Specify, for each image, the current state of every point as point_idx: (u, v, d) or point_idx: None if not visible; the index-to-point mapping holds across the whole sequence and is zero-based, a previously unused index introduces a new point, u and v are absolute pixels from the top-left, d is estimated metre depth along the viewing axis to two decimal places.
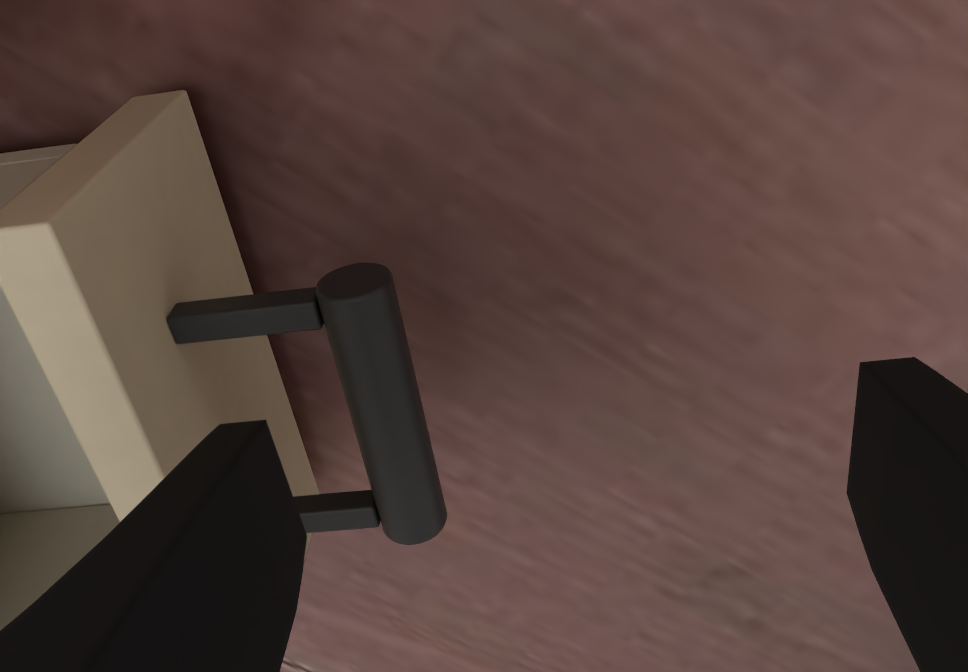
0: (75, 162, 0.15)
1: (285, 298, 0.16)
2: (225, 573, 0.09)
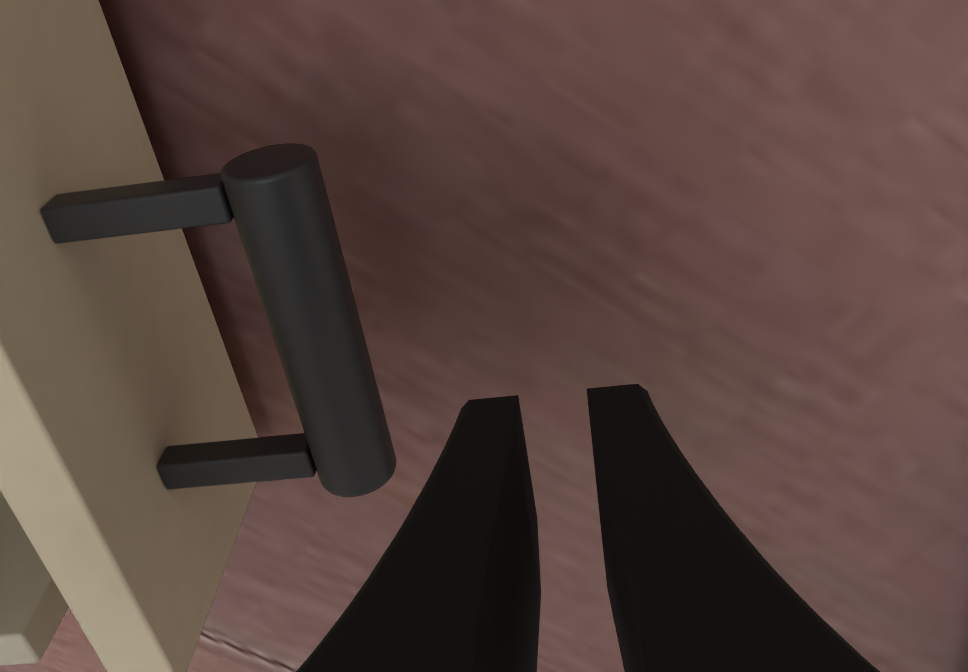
0: None
1: (185, 184, 0.13)
2: (515, 551, 0.09)
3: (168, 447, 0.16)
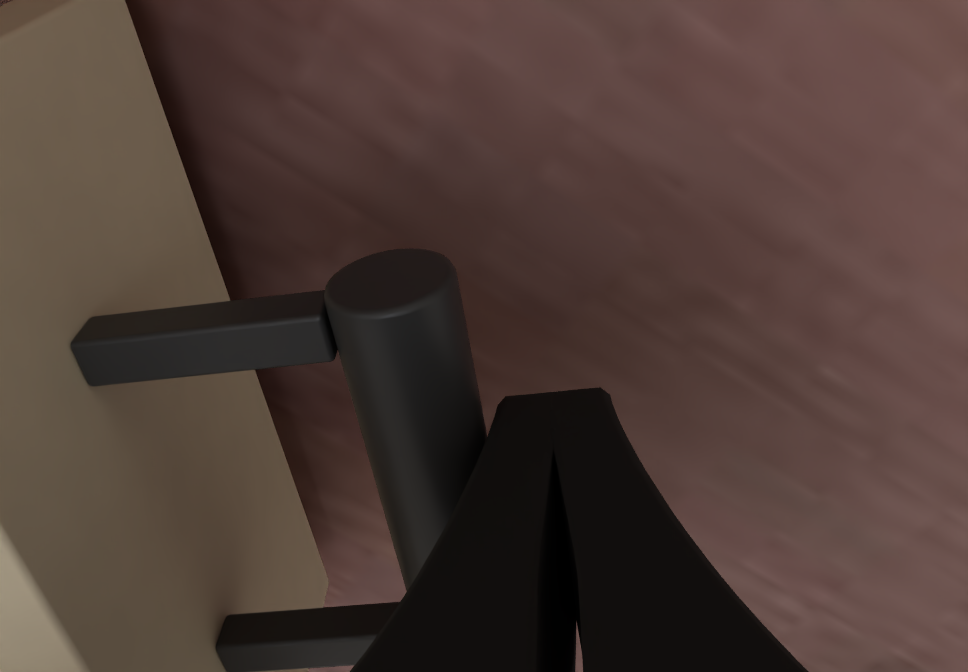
0: None
1: (272, 309, 0.09)
2: (557, 548, 0.09)
3: (229, 617, 0.12)
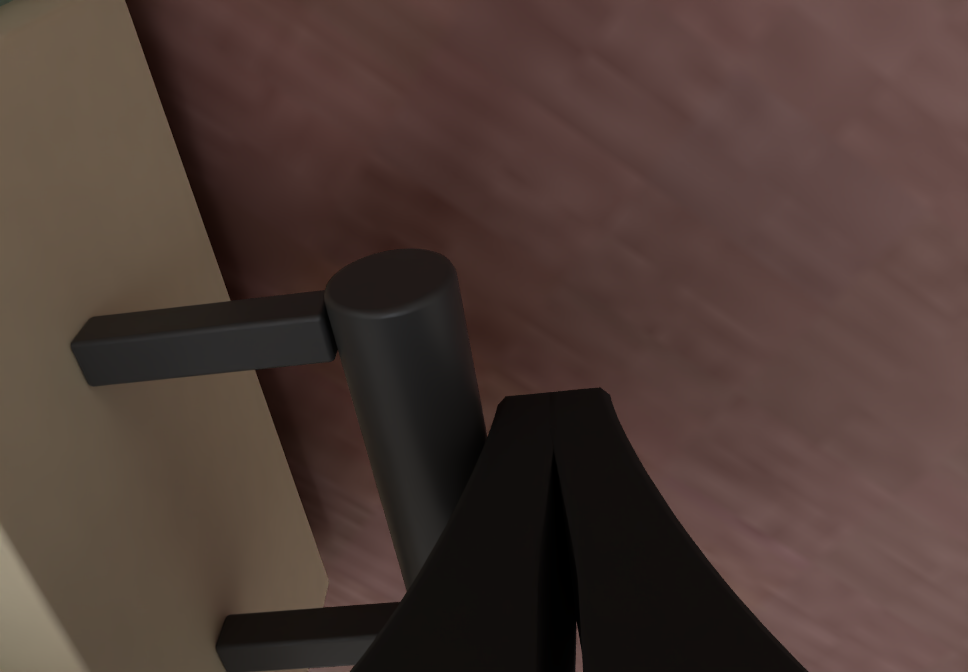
0: None
1: (272, 309, 0.09)
2: (557, 548, 0.09)
3: (229, 617, 0.12)
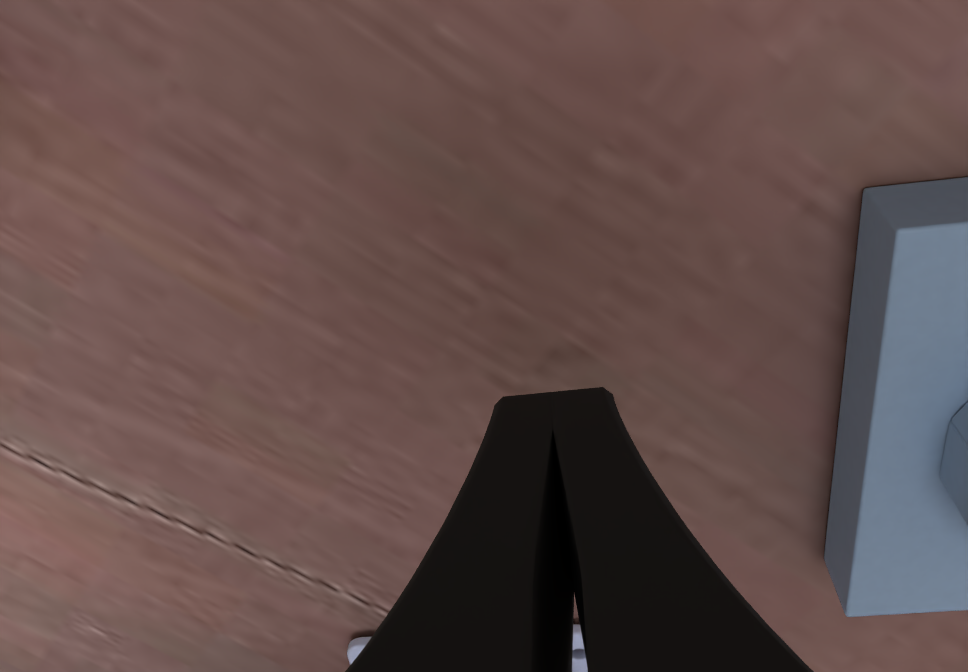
0: None
1: None
2: (554, 548, 0.09)
3: None
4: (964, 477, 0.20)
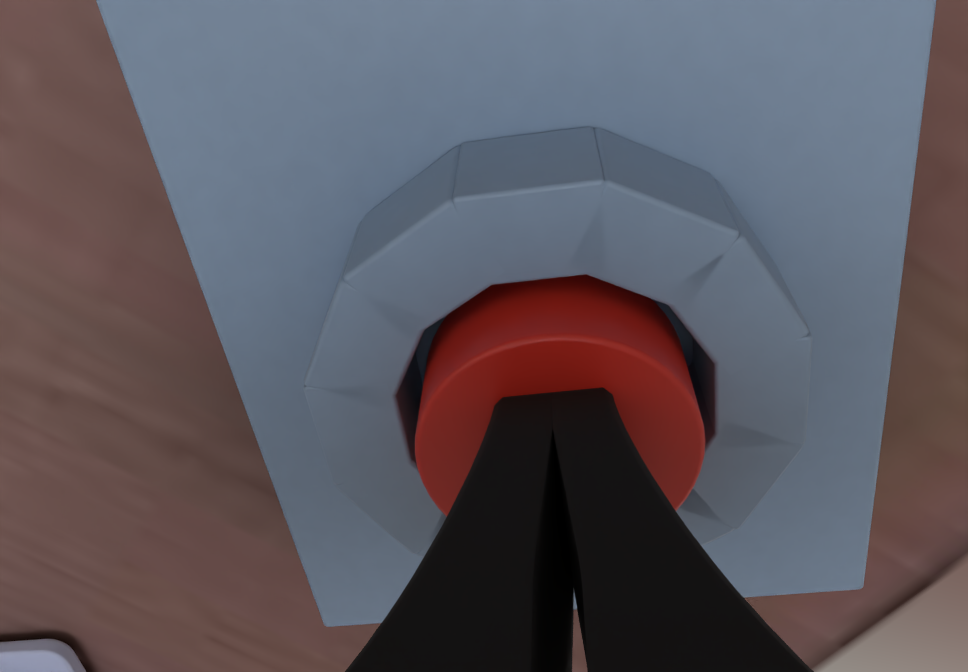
0: None
1: None
2: (553, 548, 0.09)
3: None
4: None
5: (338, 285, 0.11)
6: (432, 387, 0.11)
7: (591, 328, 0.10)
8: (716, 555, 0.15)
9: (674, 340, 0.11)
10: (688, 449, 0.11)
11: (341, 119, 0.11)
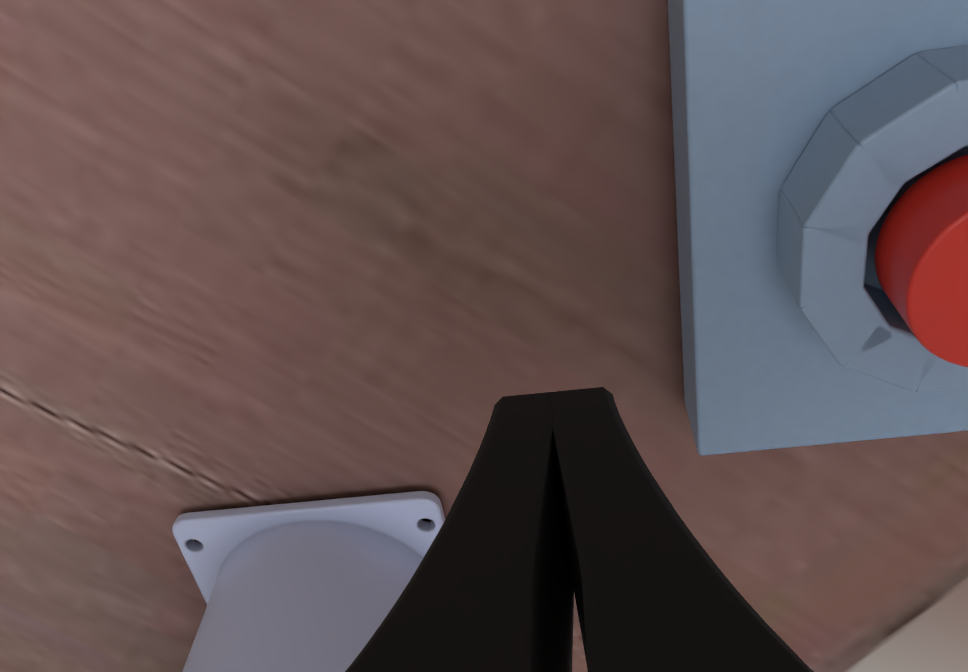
0: None
1: None
2: (554, 549, 0.09)
3: None
4: (792, 248, 0.17)
5: (853, 148, 0.15)
6: (933, 231, 0.15)
7: None
8: None
9: None
10: None
11: (833, 36, 0.16)
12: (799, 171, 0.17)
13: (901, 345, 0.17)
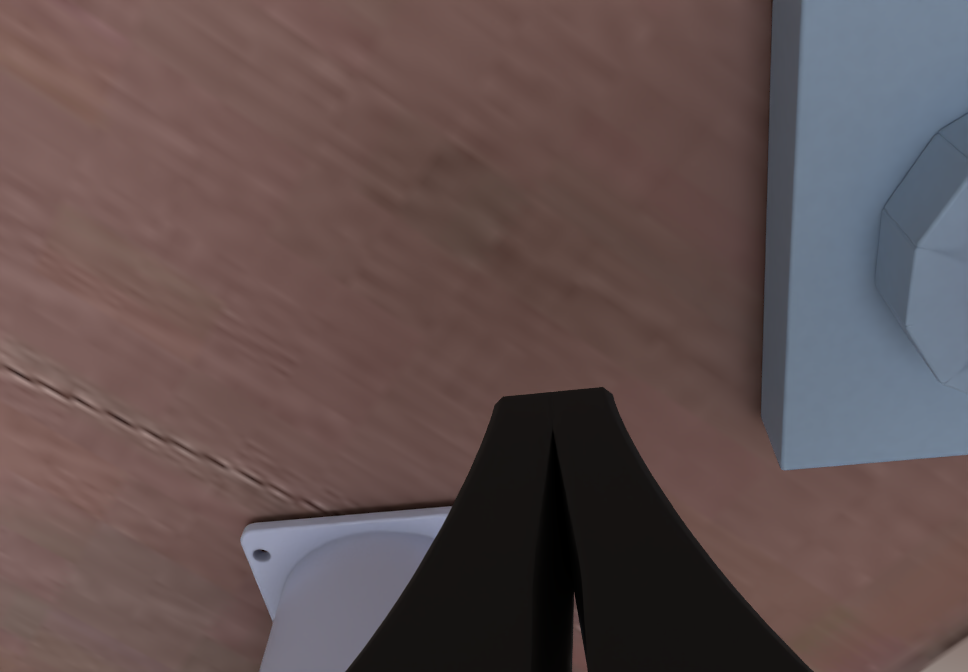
0: None
1: None
2: (554, 548, 0.09)
3: None
4: (897, 268, 0.17)
5: None
6: None
7: None
8: None
9: None
10: None
11: (946, 59, 0.16)
12: (906, 191, 0.17)
13: None
